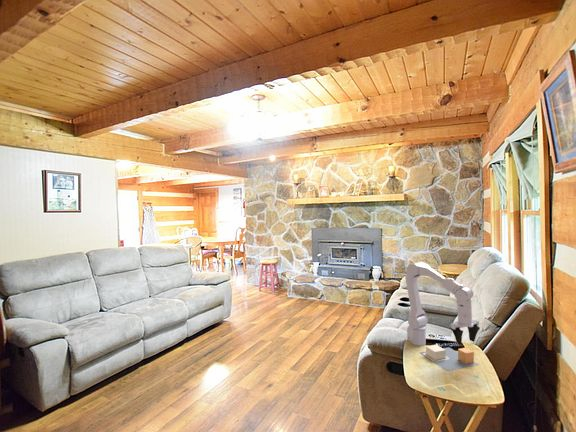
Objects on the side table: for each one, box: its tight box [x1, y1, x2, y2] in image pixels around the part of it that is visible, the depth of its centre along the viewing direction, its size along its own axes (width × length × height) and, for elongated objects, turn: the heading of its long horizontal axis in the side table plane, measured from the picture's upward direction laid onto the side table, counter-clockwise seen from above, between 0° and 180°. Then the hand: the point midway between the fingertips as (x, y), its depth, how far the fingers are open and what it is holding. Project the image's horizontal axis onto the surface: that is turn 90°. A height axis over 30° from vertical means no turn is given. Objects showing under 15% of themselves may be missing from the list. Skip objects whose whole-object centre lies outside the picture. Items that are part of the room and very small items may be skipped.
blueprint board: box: [419, 346, 480, 372], centre depth 146 cm, size 18×18×1 cm
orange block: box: [457, 347, 475, 364], centre depth 143 cm, size 4×4×5 cm
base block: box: [425, 344, 446, 360], centre depth 148 cm, size 6×6×4 cm
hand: (465, 342), depth 142 cm, fingers open, 7 cm apart
